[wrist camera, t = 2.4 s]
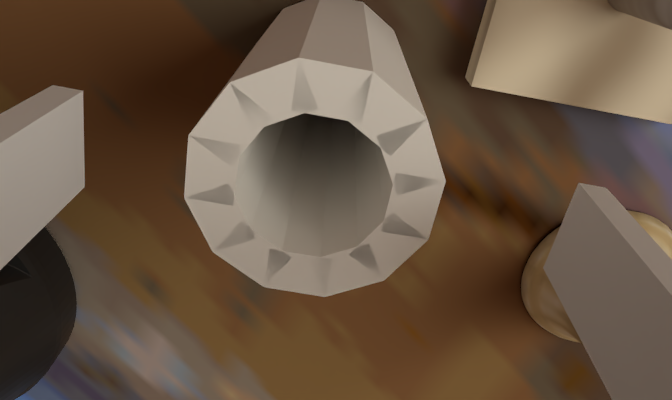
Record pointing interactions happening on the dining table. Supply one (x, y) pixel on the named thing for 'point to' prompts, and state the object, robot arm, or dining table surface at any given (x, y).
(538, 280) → the hand bell
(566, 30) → the stand
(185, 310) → the dining table surface
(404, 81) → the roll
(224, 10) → the dining table surface
